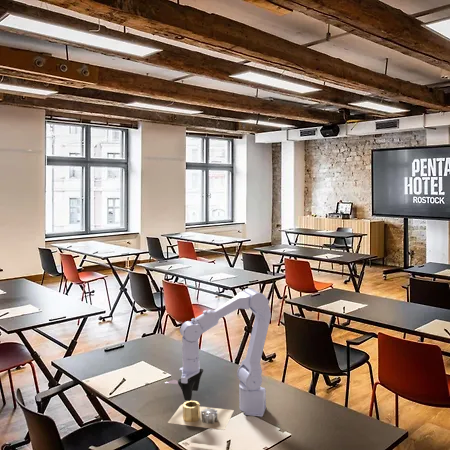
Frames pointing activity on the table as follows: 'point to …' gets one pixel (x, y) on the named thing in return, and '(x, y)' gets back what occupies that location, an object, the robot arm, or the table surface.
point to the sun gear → (209, 416)
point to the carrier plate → (221, 424)
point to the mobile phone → (172, 382)
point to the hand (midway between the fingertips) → (191, 395)
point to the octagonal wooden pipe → (191, 411)
